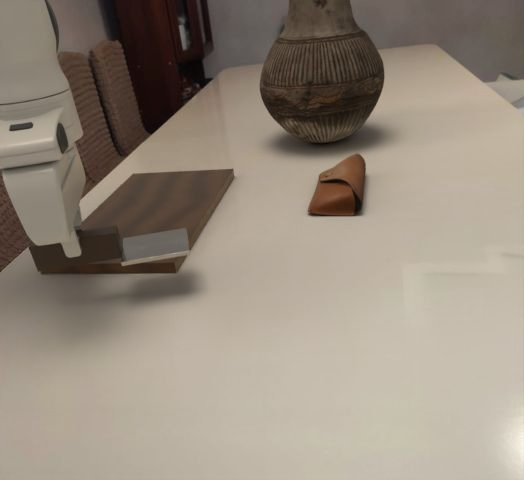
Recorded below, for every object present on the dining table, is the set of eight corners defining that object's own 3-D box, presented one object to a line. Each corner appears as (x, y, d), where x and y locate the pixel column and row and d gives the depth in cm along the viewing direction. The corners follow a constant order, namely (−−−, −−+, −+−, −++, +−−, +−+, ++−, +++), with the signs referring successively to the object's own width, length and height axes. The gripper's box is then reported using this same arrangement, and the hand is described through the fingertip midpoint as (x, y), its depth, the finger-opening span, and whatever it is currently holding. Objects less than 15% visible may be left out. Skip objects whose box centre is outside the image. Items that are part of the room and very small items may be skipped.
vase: (286, 125, 125) (275, -31, 108) (391, 124, 117) (398, -45, 99) (248, 159, 107) (227, -21, 90) (370, 160, 99) (373, -38, 81)
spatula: (34, 281, 61) (24, 255, 59) (44, 255, 66) (35, 231, 65) (190, 254, 62) (185, 229, 60) (186, 231, 68) (182, 207, 66)
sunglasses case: (316, 173, 95) (335, 138, 90) (351, 191, 95) (371, 158, 91) (305, 213, 81) (327, 175, 76) (346, 235, 81) (369, 198, 77)
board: (40, 273, 74) (37, 264, 74) (134, 181, 103) (132, 173, 102) (176, 272, 71) (174, 262, 70) (234, 176, 99) (233, 168, 99)
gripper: (23, 108, 63) (61, 219, 71) (-20, 157, 46) (35, 293, 55) (76, 101, 63) (108, 211, 72) (53, 146, 47) (97, 282, 55)
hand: (76, 247), depth 63 cm, fingers closed on spatula, 2 cm apart
